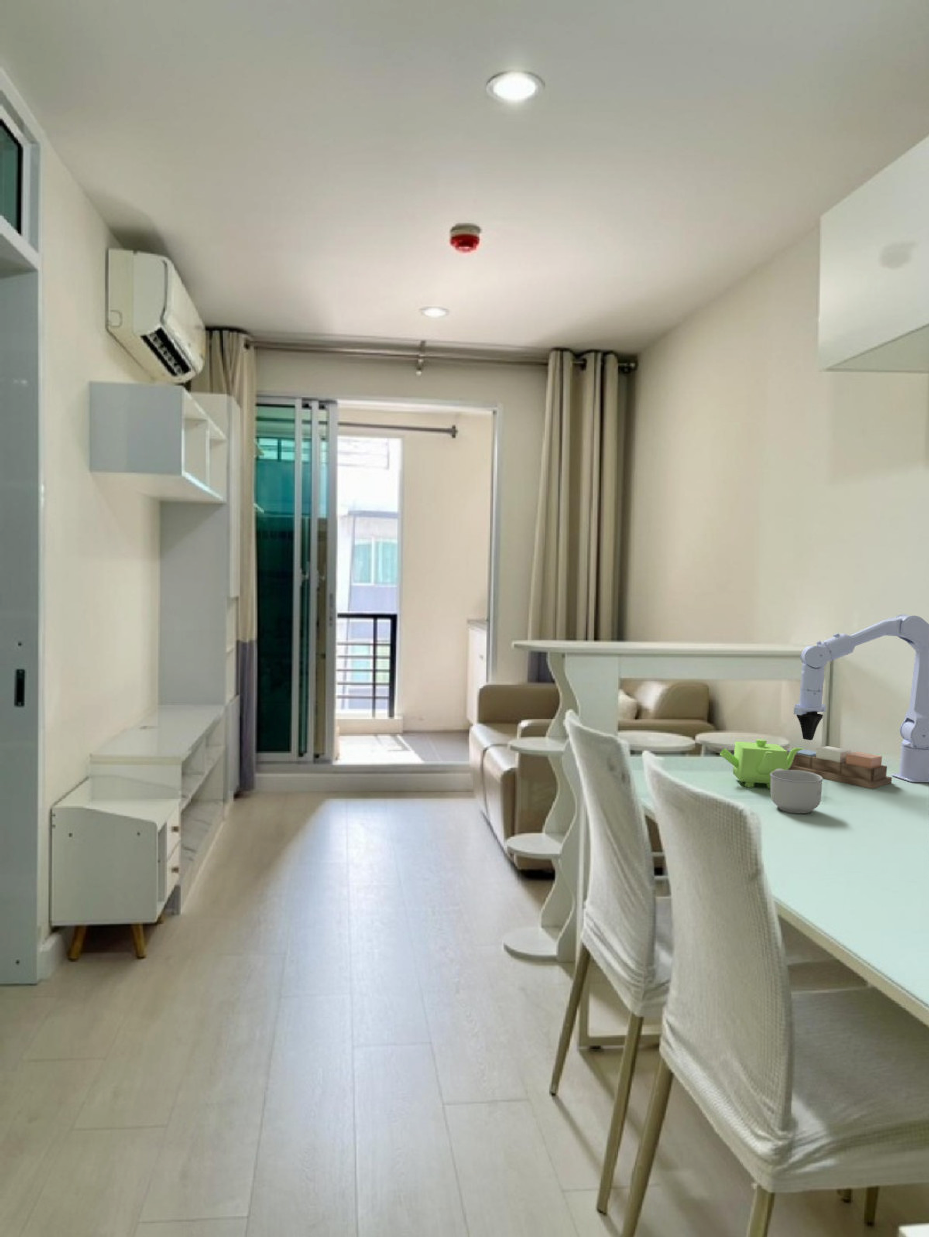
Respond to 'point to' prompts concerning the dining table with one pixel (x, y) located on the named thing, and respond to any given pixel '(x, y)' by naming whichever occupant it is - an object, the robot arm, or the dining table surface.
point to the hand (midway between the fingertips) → (807, 739)
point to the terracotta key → (864, 760)
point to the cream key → (832, 754)
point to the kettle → (758, 761)
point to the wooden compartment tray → (842, 771)
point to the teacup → (796, 790)
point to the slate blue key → (805, 752)
